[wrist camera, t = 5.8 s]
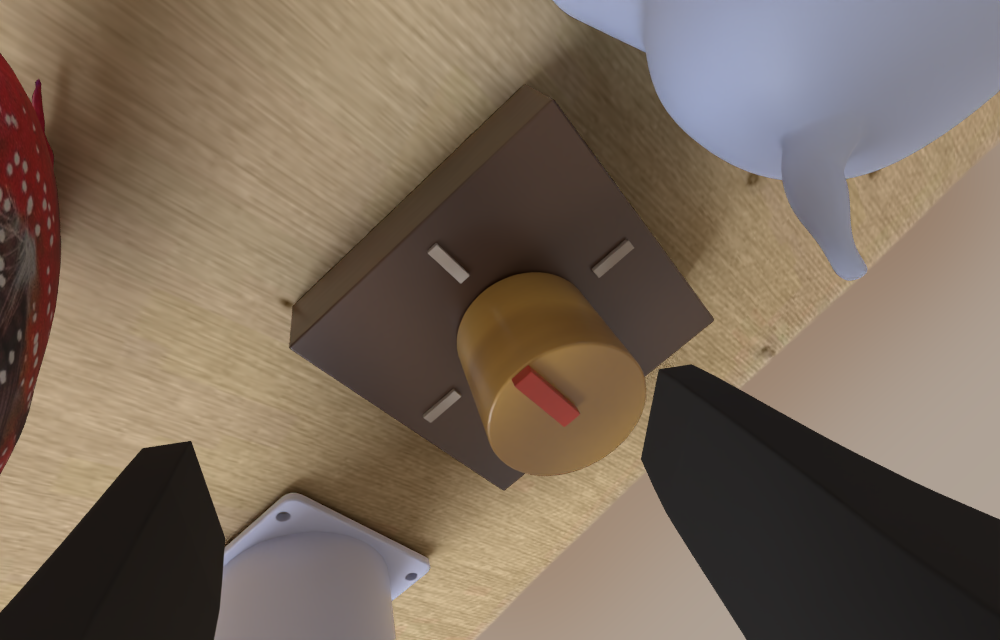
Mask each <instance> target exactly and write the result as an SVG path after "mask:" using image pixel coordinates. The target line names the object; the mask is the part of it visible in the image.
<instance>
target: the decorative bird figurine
mask: <svg viewBox="0 0 1000 640" xmlns="http://www.w3.org/2000/svg"><path fill="white" fill-rule="evenodd" d="M35 85H36V89H35V90H34V93H33V96H32V103H31V101H30V99H29V98H28V96H27V94H26V92H25V91H24V89H23V87H22V85H21V84H20V82H19V80H18V78H17V77H16V75H15V73H14V72H13V70H12V68H11V67H10V65H9V64H8V63H7V61H6V60H5V59H4V57H3V56H2V55H1V53H0V474H1V472H2V470H3V468H4V466H5V465H6V463H7V461H8V459H9V457H10V455H11V453H12V451H13V449H14V447H15V445H16V443H17V441H18V439H19V437H20V435H21V432H22V430H23V428H24V425H25V422H26V419H27V416H28V413H29V409H30V405H31V401H32V397H33V393H34V389H35V385H36V381H37V377H38V374H39V370H40V367H41V364H42V360H43V357H44V354H45V350H46V346H47V343H48V339H49V335H50V331H51V326H52V322H53V318H54V313H55V308H56V301H57V294H58V285H59V274H60V264H61V236H60V217H59V203H58V193H57V186H56V180H55V175H54V170H53V167H54V155H53V151H52V149H51V147H50V145H49V143H48V141H47V138H46V136H45V120H44V113H43V105H42V95H41V82H40V80H39V79H38V80H37V81H36V82H35Z"/></svg>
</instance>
